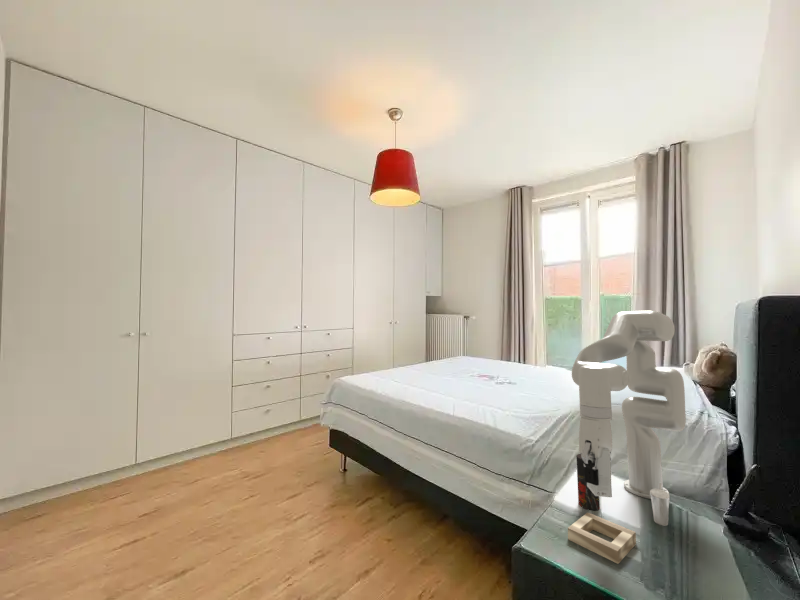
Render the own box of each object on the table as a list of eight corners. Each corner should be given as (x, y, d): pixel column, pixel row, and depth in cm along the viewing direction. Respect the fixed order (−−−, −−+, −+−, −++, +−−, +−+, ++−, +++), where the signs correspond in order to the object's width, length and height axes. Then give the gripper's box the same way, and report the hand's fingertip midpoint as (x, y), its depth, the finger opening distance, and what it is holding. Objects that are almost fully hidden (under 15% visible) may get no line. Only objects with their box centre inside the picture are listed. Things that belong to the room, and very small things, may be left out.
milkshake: (672, 521, 99) (670, 485, 100) (670, 529, 95) (668, 492, 96) (652, 515, 102) (651, 480, 103) (650, 522, 98) (648, 487, 99)
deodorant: (602, 511, 104) (600, 461, 105) (581, 509, 105) (579, 460, 106) (595, 501, 110) (593, 454, 111) (576, 500, 111) (574, 453, 112)
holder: (588, 523, 98) (587, 512, 99) (636, 543, 89) (635, 532, 89) (568, 539, 91) (567, 527, 91) (618, 564, 82) (617, 551, 82)
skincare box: (612, 498, 87) (610, 450, 88) (594, 496, 88) (592, 449, 89) (603, 487, 93) (601, 442, 94) (586, 485, 94) (584, 441, 95)
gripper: (594, 404, 101) (597, 466, 99) (566, 413, 90) (568, 483, 89) (623, 409, 95) (626, 475, 93) (596, 420, 84) (599, 494, 83)
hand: (598, 478), depth 91 cm, fingers closed on skincare box, 7 cm apart
